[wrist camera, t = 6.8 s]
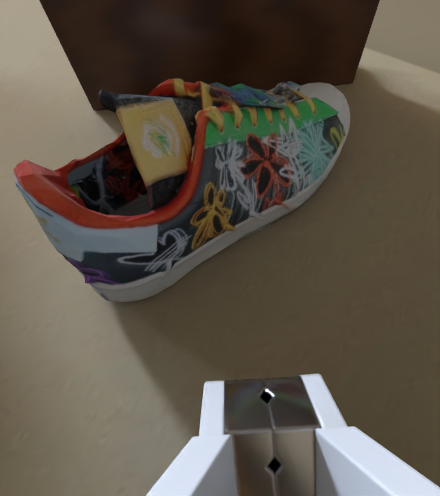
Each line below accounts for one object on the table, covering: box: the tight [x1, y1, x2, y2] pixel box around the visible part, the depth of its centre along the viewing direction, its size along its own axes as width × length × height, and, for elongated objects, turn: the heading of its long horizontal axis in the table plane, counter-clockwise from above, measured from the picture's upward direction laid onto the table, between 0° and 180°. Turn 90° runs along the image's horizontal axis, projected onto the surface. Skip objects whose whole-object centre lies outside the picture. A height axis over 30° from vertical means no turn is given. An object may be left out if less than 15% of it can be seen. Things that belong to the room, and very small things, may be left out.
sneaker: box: [14, 79, 350, 302], centre depth 16 cm, size 8×21×10 cm, turn 131°
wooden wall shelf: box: [40, 0, 380, 110], centre depth 23 cm, size 27×5×13 cm, turn 93°
